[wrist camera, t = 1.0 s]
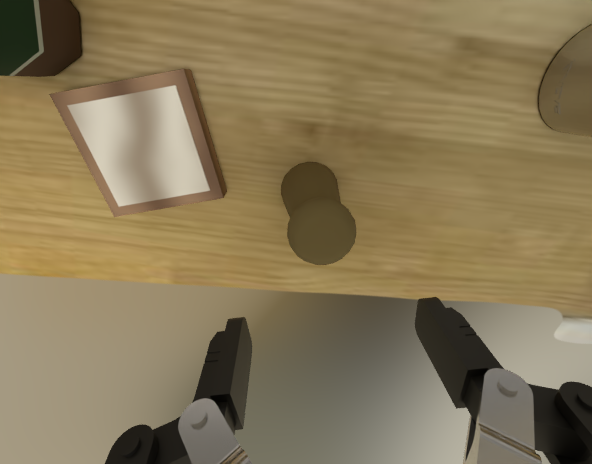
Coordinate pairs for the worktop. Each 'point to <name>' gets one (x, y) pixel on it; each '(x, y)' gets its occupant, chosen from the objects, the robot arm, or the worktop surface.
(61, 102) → the picture frame
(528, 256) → the worktop surface
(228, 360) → the robot arm
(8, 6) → the beer bottle
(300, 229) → the brown rounded piece
